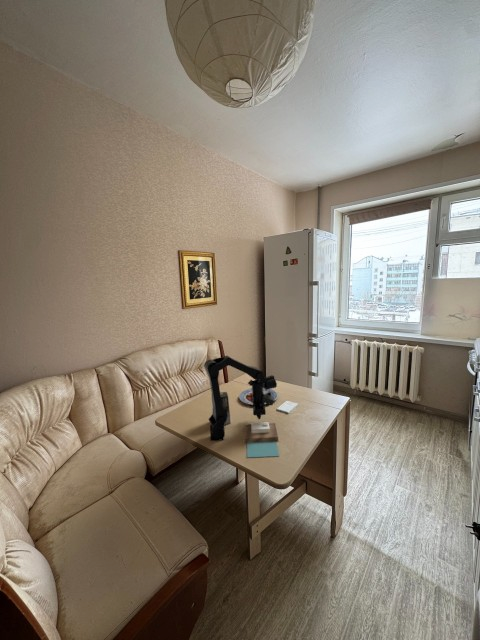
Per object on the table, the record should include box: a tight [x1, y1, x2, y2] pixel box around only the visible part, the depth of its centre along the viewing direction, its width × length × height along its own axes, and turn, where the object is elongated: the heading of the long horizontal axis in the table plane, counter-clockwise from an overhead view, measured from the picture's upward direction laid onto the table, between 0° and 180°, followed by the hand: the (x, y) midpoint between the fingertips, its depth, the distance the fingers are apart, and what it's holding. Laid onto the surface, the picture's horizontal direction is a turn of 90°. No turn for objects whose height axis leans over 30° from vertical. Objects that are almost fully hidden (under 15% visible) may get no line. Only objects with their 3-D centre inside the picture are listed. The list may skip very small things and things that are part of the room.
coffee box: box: [211, 391, 232, 425], centre depth 136 cm, size 9×6×16 cm
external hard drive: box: [275, 400, 299, 415], centre depth 148 cm, size 2×8×12 cm
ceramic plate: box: [238, 387, 279, 406], centre depth 163 cm, size 26×26×3 cm
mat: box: [246, 441, 280, 459], centre depth 111 cm, size 14×10×1 cm
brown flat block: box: [244, 422, 279, 444], centre depth 122 cm, size 16×12×2 cm
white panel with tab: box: [250, 421, 270, 433], centre depth 123 cm, size 9×6×3 cm, turn 89°
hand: (259, 418), depth 131 cm, fingers closed
